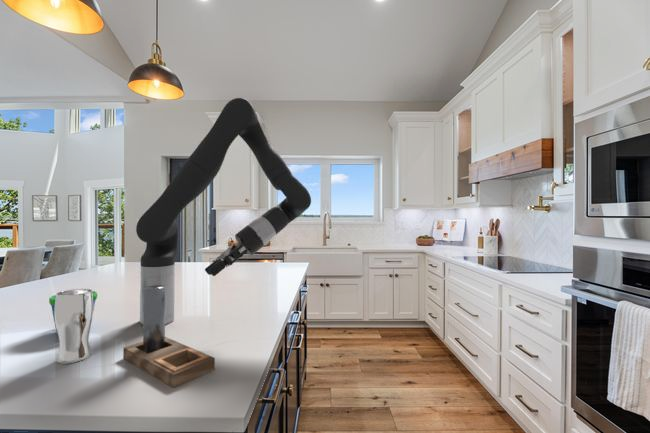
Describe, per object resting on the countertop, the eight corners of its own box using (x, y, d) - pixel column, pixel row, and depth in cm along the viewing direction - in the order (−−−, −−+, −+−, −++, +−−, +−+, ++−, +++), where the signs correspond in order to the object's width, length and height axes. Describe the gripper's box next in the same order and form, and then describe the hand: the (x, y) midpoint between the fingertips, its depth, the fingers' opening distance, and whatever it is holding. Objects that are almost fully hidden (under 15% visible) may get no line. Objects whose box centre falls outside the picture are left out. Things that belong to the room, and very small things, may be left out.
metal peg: (139, 357, 74) (140, 287, 74) (158, 351, 78) (159, 284, 78) (149, 363, 71) (149, 290, 71) (168, 356, 75) (169, 287, 75)
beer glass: (68, 351, 77) (69, 288, 77) (99, 351, 77) (100, 288, 77) (45, 365, 70) (46, 295, 70) (80, 364, 70) (80, 295, 70)
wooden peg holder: (123, 358, 74) (123, 346, 74) (162, 345, 81) (162, 334, 81) (173, 387, 61) (173, 373, 61) (214, 369, 69) (214, 356, 69)
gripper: (242, 227, 99) (196, 262, 92) (254, 222, 86) (202, 262, 79) (257, 246, 100) (213, 282, 93) (271, 244, 87) (222, 285, 80)
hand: (208, 273), depth 86 cm, fingers open, 8 cm apart
